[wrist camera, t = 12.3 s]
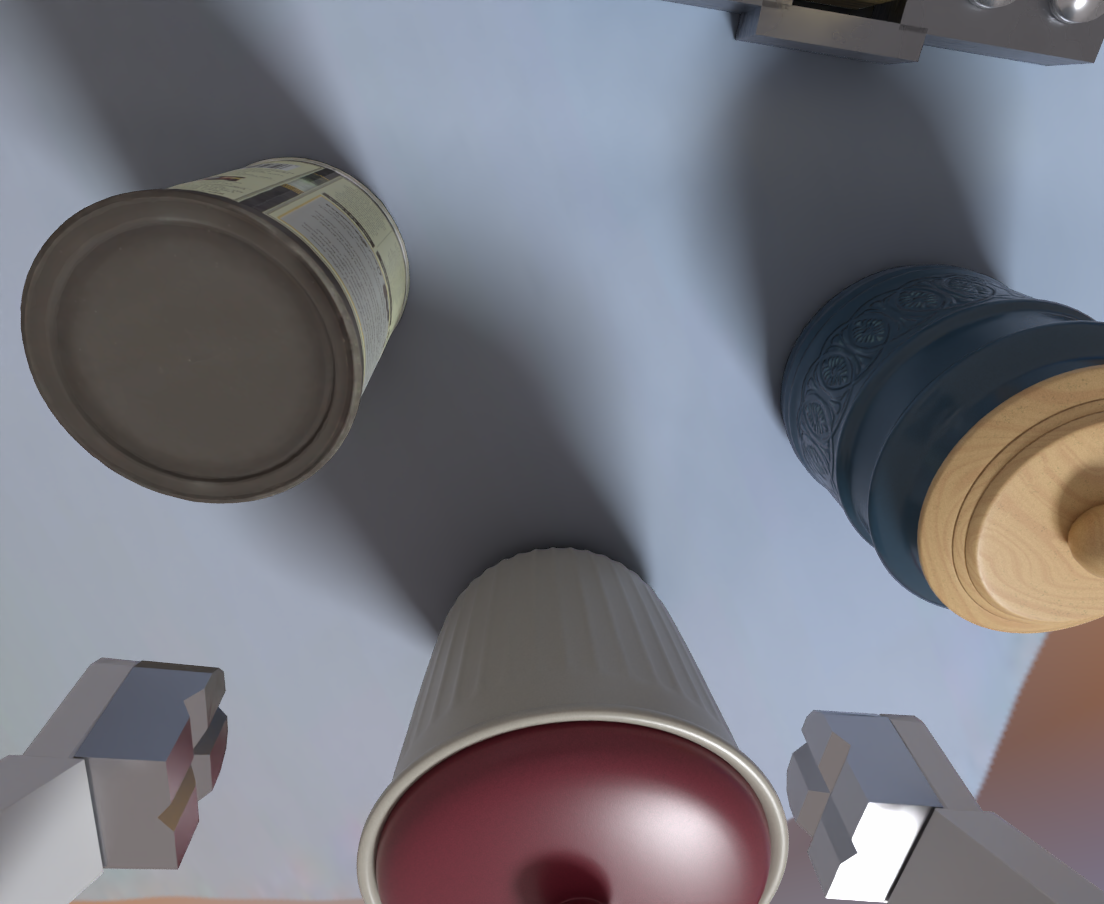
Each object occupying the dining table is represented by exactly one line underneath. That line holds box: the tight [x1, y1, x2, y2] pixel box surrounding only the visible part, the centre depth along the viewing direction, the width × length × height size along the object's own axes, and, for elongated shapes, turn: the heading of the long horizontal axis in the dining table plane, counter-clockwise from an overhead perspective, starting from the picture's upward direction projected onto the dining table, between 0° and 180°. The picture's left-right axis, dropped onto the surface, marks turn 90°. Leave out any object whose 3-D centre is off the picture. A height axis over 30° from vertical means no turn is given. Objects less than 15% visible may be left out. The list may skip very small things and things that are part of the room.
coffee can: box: [21, 157, 410, 503], centre depth 30 cm, size 10×10×14 cm
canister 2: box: [781, 265, 1104, 633], centre depth 32 cm, size 13×13×18 cm
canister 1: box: [357, 547, 789, 904], centre depth 36 cm, size 18×18×21 cm
